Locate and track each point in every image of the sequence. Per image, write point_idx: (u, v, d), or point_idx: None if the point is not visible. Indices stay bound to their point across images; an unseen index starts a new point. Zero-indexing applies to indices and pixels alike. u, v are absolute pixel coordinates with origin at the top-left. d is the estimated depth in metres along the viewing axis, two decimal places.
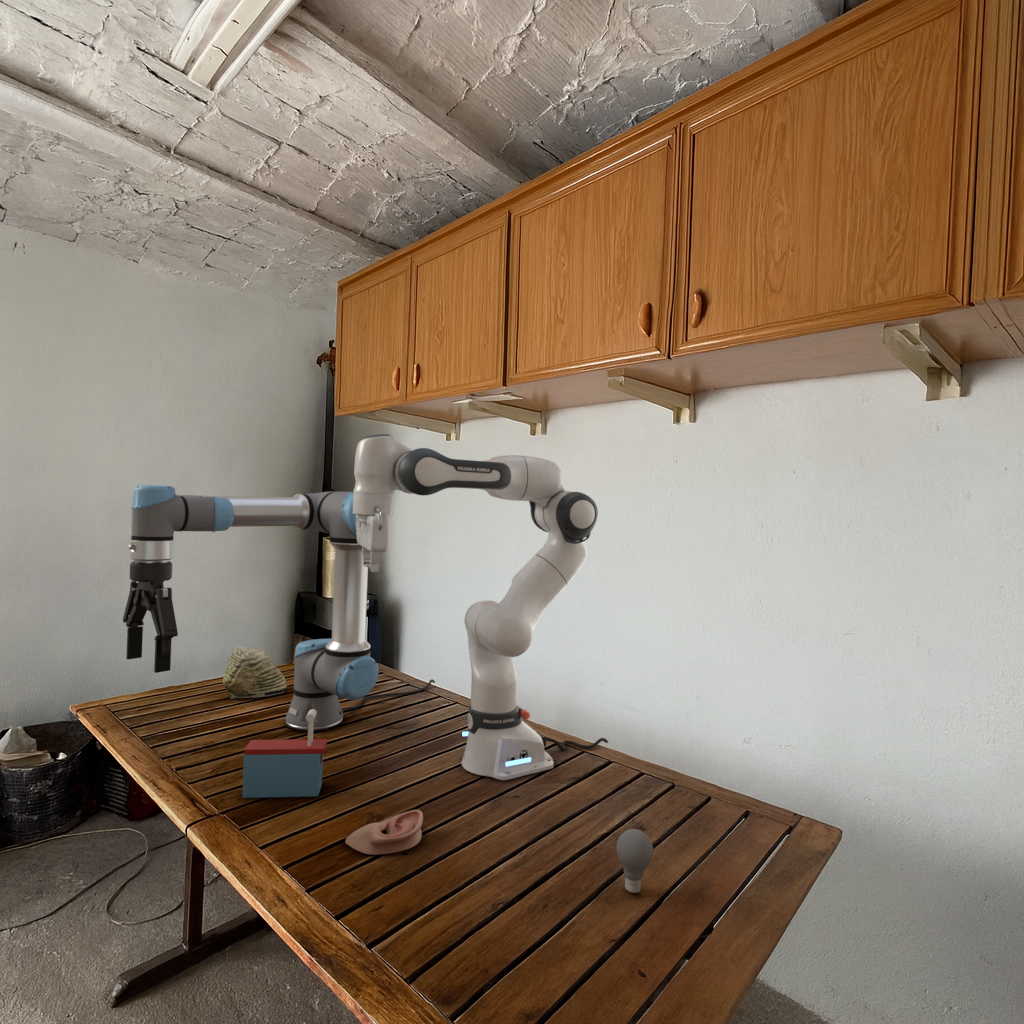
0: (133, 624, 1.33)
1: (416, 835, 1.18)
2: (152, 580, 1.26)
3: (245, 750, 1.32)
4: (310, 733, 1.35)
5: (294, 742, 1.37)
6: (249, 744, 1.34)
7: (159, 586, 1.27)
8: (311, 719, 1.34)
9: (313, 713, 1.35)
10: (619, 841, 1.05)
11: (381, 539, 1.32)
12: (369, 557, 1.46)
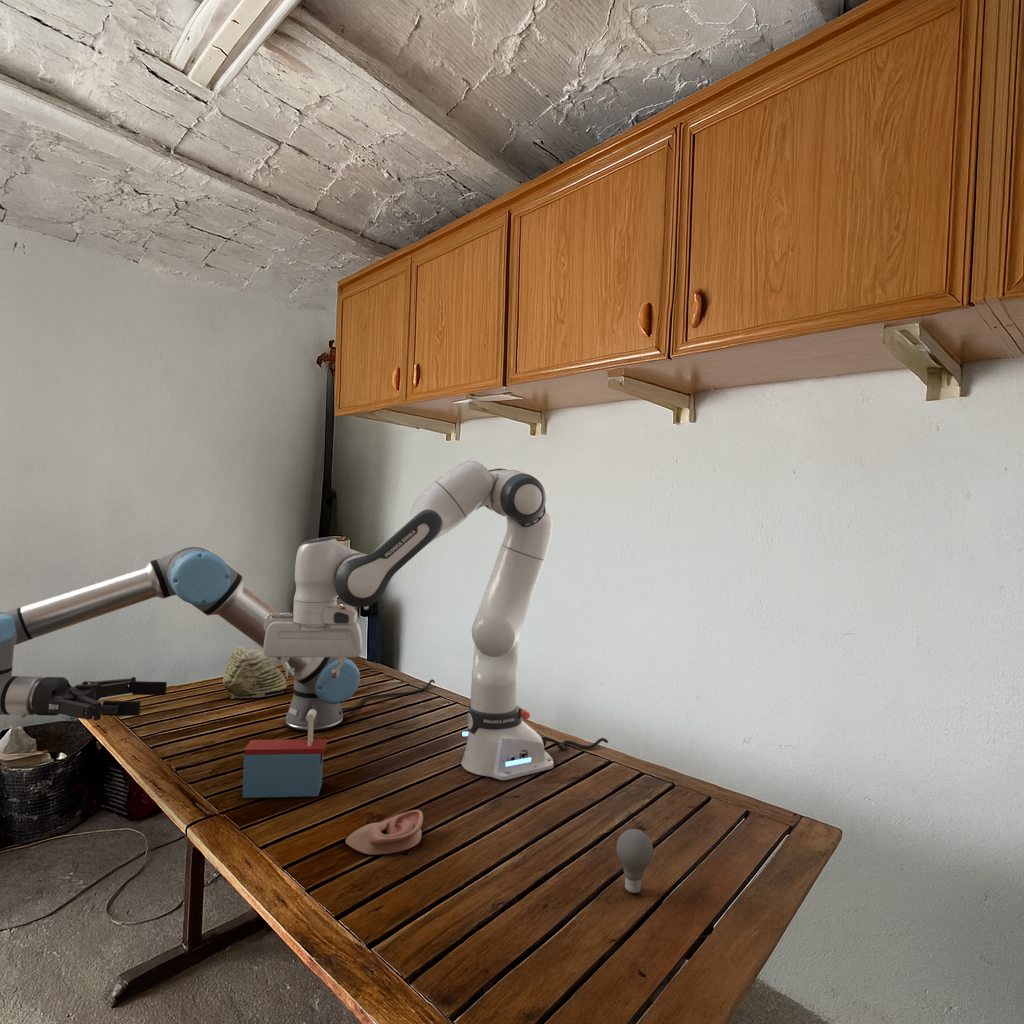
0: (131, 688, 1.37)
1: (416, 835, 1.18)
2: (49, 707, 1.25)
3: (245, 750, 1.32)
4: (310, 733, 1.35)
5: (294, 742, 1.37)
6: (249, 744, 1.34)
7: None
8: (311, 719, 1.34)
9: (313, 713, 1.35)
10: (619, 841, 1.05)
11: None
12: (336, 668, 1.36)
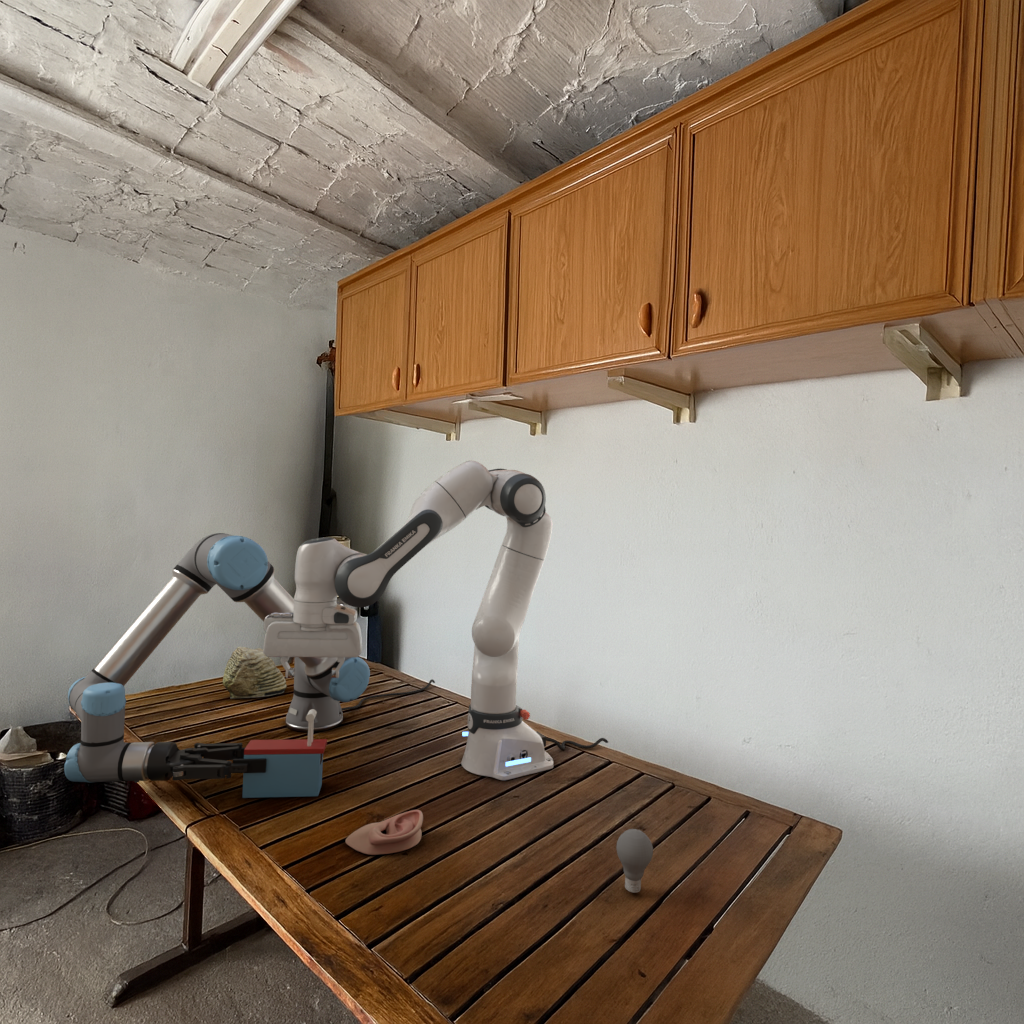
0: (237, 754, 1.37)
1: (416, 835, 1.18)
2: (163, 774, 1.29)
3: (245, 750, 1.32)
4: (310, 733, 1.35)
5: (294, 742, 1.37)
6: (249, 744, 1.34)
7: (170, 767, 1.29)
8: (311, 719, 1.34)
9: (313, 713, 1.35)
10: (619, 841, 1.05)
11: None
12: (336, 668, 1.36)
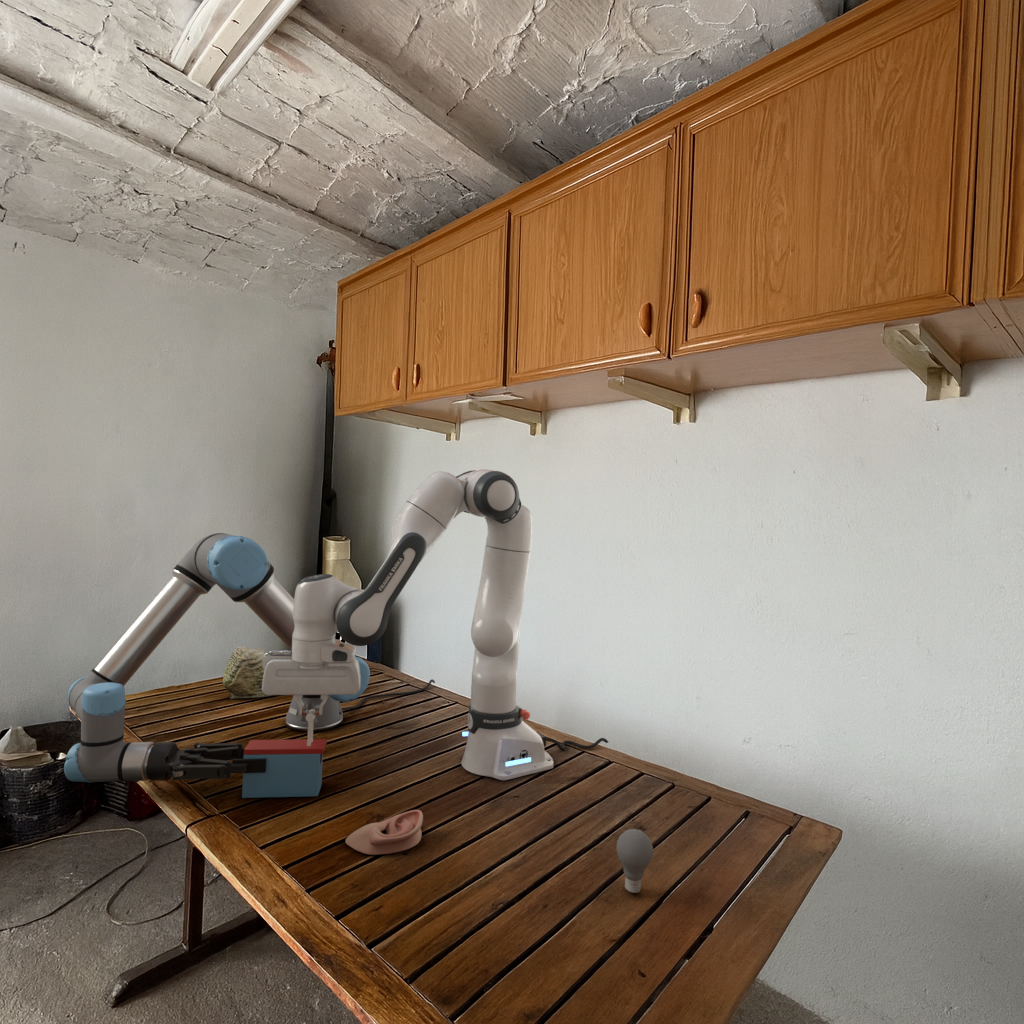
0: (237, 754, 1.37)
1: (416, 835, 1.18)
2: (163, 773, 1.29)
3: (244, 750, 1.32)
4: (310, 733, 1.35)
5: (294, 742, 1.37)
6: (249, 744, 1.34)
7: (170, 767, 1.29)
8: (311, 719, 1.34)
9: (313, 713, 1.35)
10: (619, 841, 1.05)
11: None
12: (319, 705, 1.36)
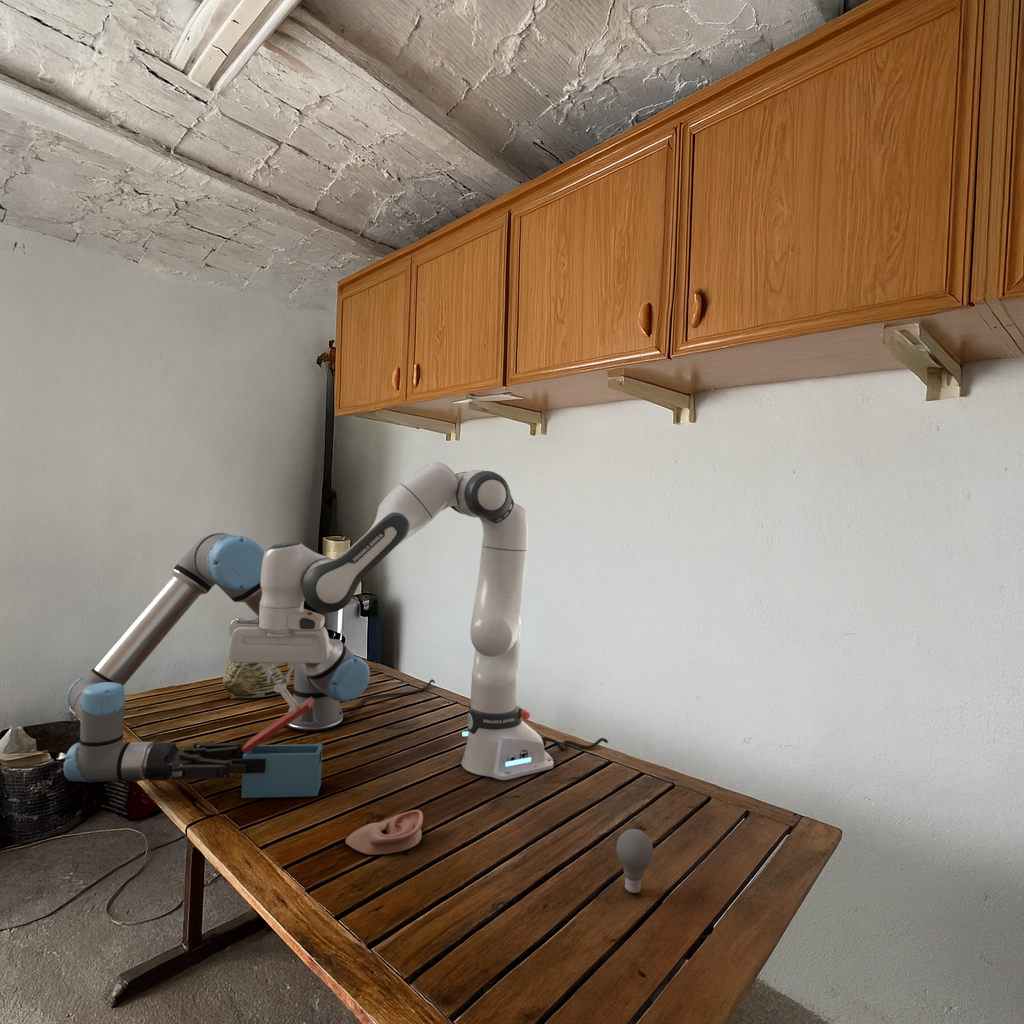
0: (236, 754, 1.37)
1: (416, 835, 1.18)
2: (162, 773, 1.29)
3: (242, 750, 1.31)
4: (288, 700, 1.34)
5: (283, 717, 1.36)
6: (246, 744, 1.34)
7: (169, 767, 1.29)
8: (280, 688, 1.33)
9: (279, 683, 1.34)
10: (619, 841, 1.05)
11: None
12: None
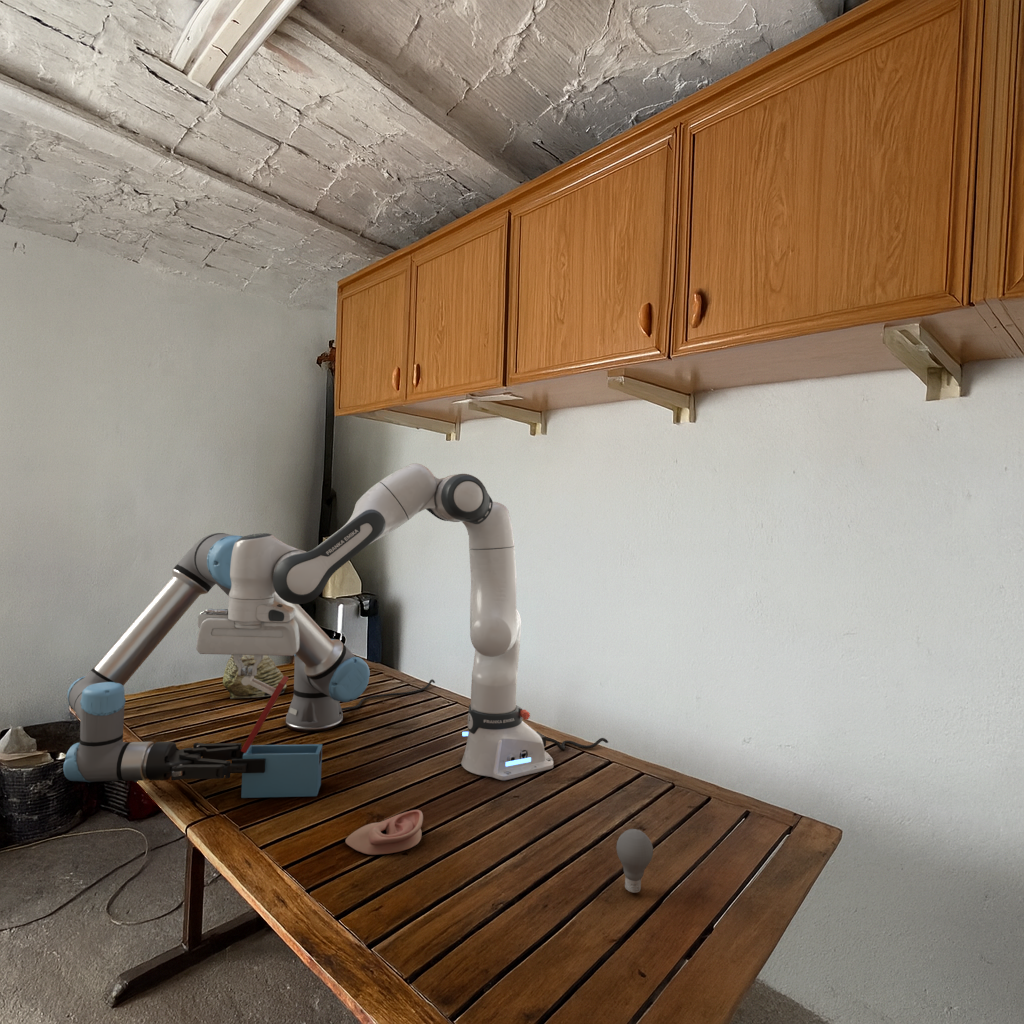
0: (236, 754, 1.37)
1: (416, 835, 1.18)
2: (162, 773, 1.29)
3: (241, 750, 1.31)
4: (261, 687, 1.33)
5: None
6: None
7: (169, 767, 1.29)
8: (247, 680, 1.32)
9: (245, 676, 1.33)
10: (619, 841, 1.05)
11: None
12: (253, 666, 1.34)
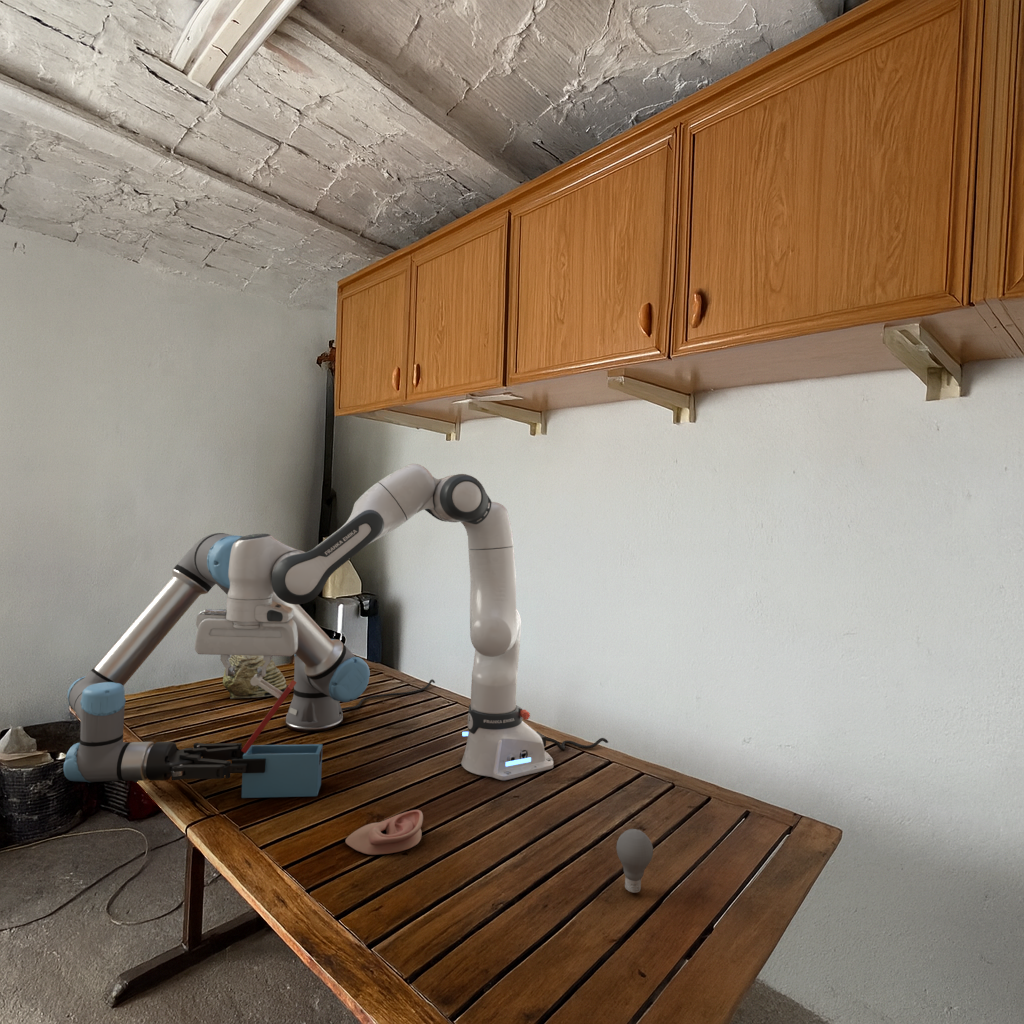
0: (236, 754, 1.37)
1: (416, 835, 1.18)
2: (162, 773, 1.29)
3: (241, 750, 1.31)
4: (269, 689, 1.33)
5: None
6: None
7: (169, 767, 1.29)
8: (256, 681, 1.33)
9: (254, 676, 1.33)
10: (619, 841, 1.05)
11: None
12: None
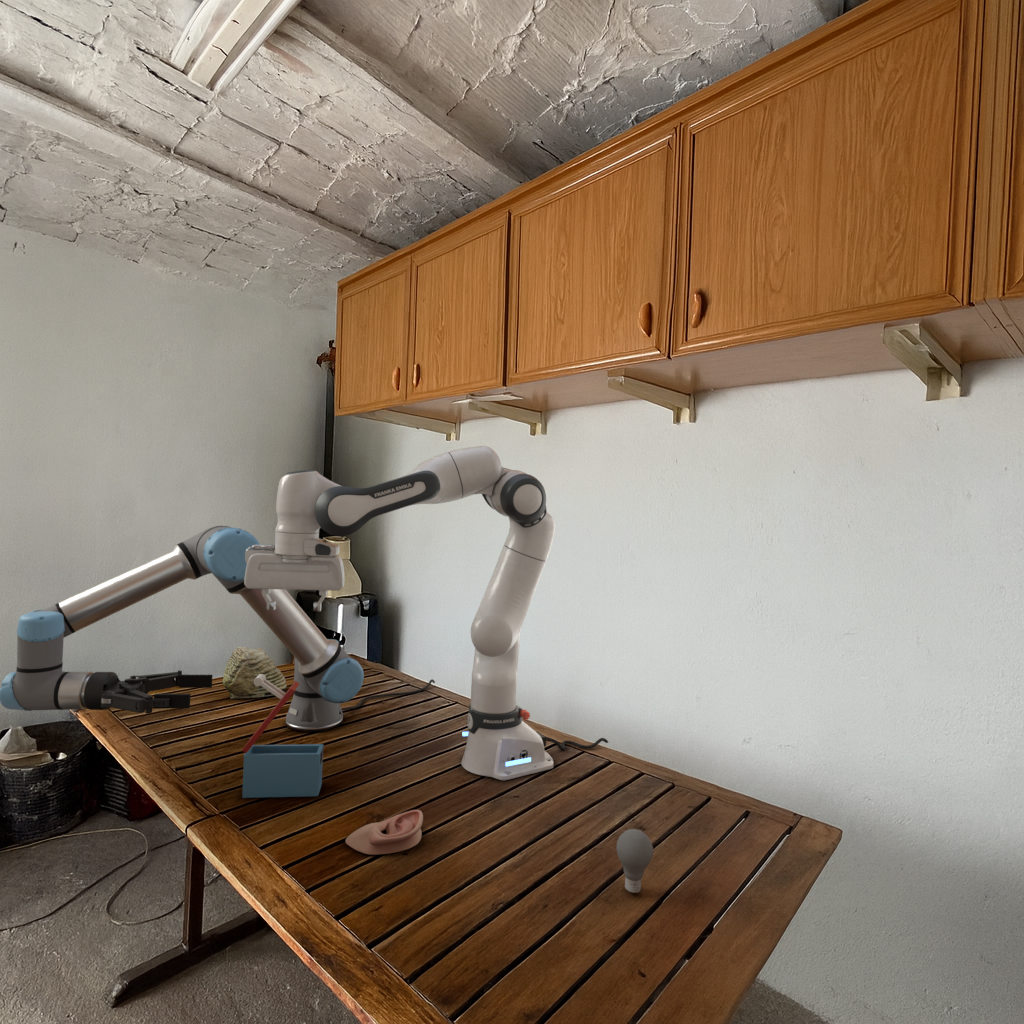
0: (177, 681, 1.39)
1: (416, 835, 1.18)
2: (101, 701, 1.26)
3: (242, 750, 1.32)
4: (271, 690, 1.33)
5: (274, 708, 1.36)
6: (246, 744, 1.34)
7: None
8: (259, 681, 1.33)
9: (257, 676, 1.34)
10: (619, 841, 1.05)
11: None
12: (318, 601, 1.35)
